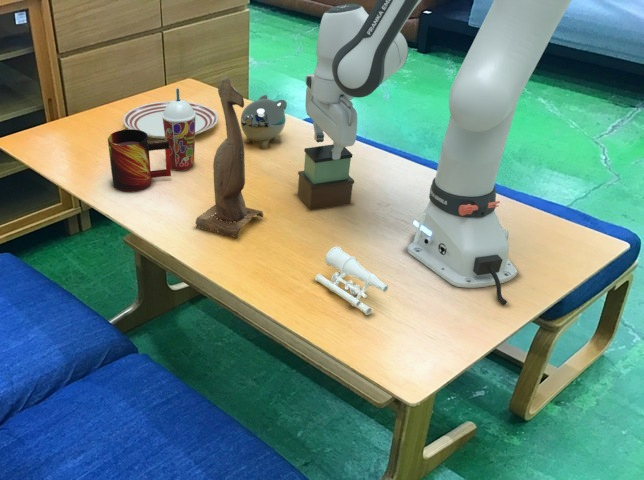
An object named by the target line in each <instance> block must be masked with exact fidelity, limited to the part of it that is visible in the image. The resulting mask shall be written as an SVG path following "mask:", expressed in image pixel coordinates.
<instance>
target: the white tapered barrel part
mask: <svg viewBox="0 0 644 480" xmlns="http://www.w3.org/2000/svg"><path fill="white" fill-rule="evenodd" d="M324 262H325V264H326V265H327V266H328V267H332V268H334V269H336V270H338V271H335V272H333V274H332V276H331V279H330V280H329V279H328V278H326V277H324V276H323V274H321V273H317V274H316V276H315V278H314V281H315V282H317V283H320V284H321V285H322V286H323V287H326V288H327V289H328V290H329V291H330V292H331V293H334V294H335V295H338V296H339V297H341V298H342V299H344V300H345V301H346V302H348V303H349V304H350V305H351V306H352V307H355V308H357V309H358V310H360V311H361V312H362V313H363V314H365V315H366V316H368V315H371V314H372V311H373V308H372V307H371V306H369V305H367V304H365V303H363V302H362V301H361V300H360V299H361V298H362V297H363V298H364V299H366V298H367V297H368V295H367V294H366V293H365V292H366V291H367V289H368V288H369V287H370V286H371V287H374V288H376V289H378V290H380V291H381V292H383V293H386V292H387V291H388V290H389V285H387V284H385V283H384V282H382V281H381V279H379V278H378V277H377V275H376V274H375V273H372V272H370V271H369V270H368V269H367V268H364V267H363V265H361V263H359V262H358V259H357V257H356V256H353V255H352V256H351V255H350V254H349V253H347V252H345V251H344V250H342V248H341V247H340V246H337V245H336V246H334V247H333V246H332V247H331V248H330V249H329V250H328V251H327V253H326V254H325V259H324ZM345 276H346V277H347V276H351V277H353V278H356V279H358V280H359V281H361V282H363V283H365V284H364V285H363V287H362V288H361V286H360V285H359V284H356V283H354V281H353V280H351V279H350V280H347V281H346V280H345V279H344V278H345ZM340 283H341V284H343V285H344V287H343V289H342V288H341V287H339V285H340ZM347 291H350V292H349V293H348V292H347ZM355 295H357V296H356V297H354V296H355Z"/></svg>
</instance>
